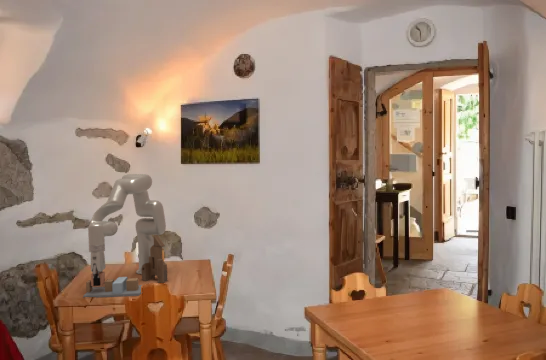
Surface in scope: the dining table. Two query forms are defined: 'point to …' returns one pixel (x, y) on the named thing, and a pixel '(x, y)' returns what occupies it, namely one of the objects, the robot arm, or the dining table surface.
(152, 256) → the wooden toy
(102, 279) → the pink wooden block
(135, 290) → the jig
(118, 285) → the blue-gray rectangular block
